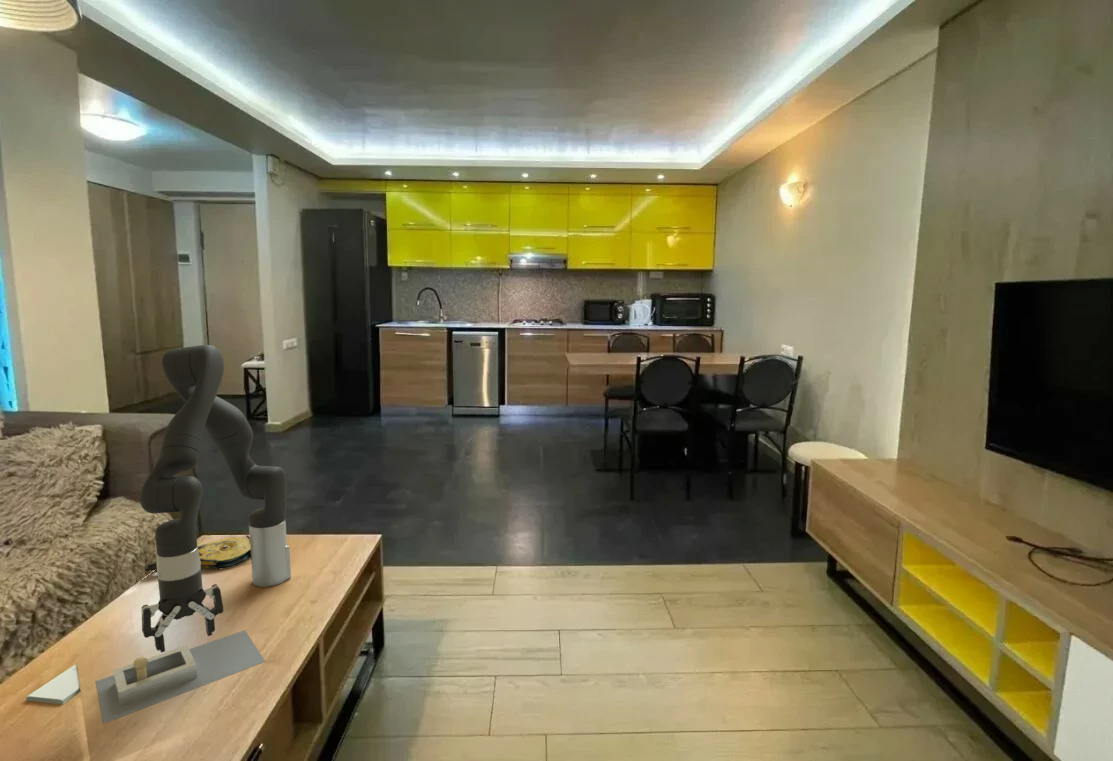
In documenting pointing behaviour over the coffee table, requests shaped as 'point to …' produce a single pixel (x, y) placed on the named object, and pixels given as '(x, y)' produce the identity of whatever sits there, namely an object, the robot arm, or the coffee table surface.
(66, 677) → the external hard drive
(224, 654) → the board
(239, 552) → the pulley block
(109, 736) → the coffee table surface
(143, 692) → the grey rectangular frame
